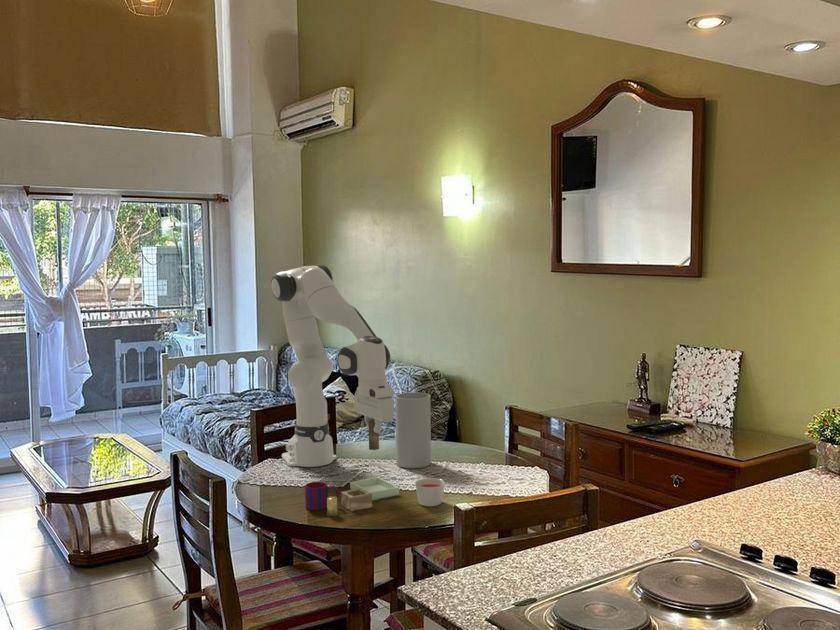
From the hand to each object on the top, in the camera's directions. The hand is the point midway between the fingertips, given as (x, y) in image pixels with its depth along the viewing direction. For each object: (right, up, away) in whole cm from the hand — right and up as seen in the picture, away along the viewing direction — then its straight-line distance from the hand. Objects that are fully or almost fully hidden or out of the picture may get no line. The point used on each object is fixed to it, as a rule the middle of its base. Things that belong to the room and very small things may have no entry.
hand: (373, 431), depth 244 cm
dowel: (0, -6, +1) cm, 6 cm away
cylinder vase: (+12, -17, +33) cm, 40 cm away
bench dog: (-11, -22, -19) cm, 31 cm away
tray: (0, -20, +2) cm, 20 cm away
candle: (+18, -21, -9) cm, 29 cm away
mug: (-15, -21, -12) cm, 28 cm away
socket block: (-4, -21, -11) cm, 24 cm away
